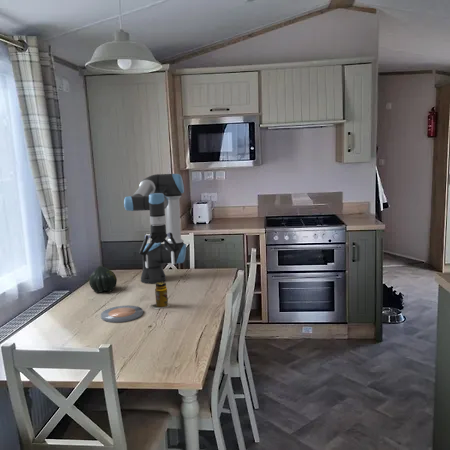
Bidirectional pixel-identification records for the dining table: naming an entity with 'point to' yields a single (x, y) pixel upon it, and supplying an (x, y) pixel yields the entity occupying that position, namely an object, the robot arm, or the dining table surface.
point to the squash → (102, 279)
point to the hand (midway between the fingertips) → (160, 265)
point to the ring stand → (122, 313)
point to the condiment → (161, 296)
